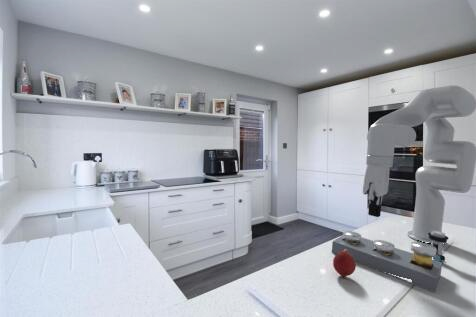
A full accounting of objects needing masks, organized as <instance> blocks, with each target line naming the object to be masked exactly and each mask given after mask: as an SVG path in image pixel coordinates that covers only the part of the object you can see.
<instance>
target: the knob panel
mask: <svg viewBox="0 0 476 317" xmlns="http://www.w3.org/2000/svg"><path fill="white" fill-rule="evenodd" d="M373 244H374V240H371V239H368V238H365V237H362V236H361V242H360V243H358V244H357V245H355V244H352V243H349V242H346V241H345V240H344V239H343V235H341V236H339V237H338V238H336V239H334V240H333V241H332V244H331V253H333V254H334V255H335V254H336V255H337V254H338V253H340V252H342V251H343V250H345V249H347V250H348V254H350V255H351V256H352V258H353V259H354V261H355V263H357V264H358V263H359V264H361V265H363V266H366V267H369V268H371V269H373V268H374V270H376V269H377V270H376V271H378V270H380V271H379V272H381V271H383V272H382V273H384V272H386V273H390V274H393V275H396V276H399V277H403V278H407V279H411V280H412V283H411V284H412V285H415V286H417V287H420V288H422V289H425V290H427V291H430V292H432V293H436V290H437V287H438V284H439V281H440V278H441V274H442V267H443V264H442V262H439V261H436V260H432V265H431V269H426V268H423V267H420V266H417V265H414V264H412V261H413V252H409V251H407V250H403V249H400V248H396V247H395V248H394V253H393V254H391V256H387V255H385V254H382V253H379V252H376V251H375V249H374V248H373ZM386 273H385V274H386Z"/></svg>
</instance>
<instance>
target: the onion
mask: <svg viewBox="0 0 476 317" xmlns="http://www.w3.org/2000/svg"><path fill="white" fill-rule="evenodd" d="M332 265H333V268H334V270H335V271H336V273H337V274H339V275H340V276H341V277H343V278H345V277H348V276H351V275H352V274H353V273H354V272H355V270H356V262H355V261H354V259H353V258H352V256H351V255H350V254H348V250H347V249H345V250H343V251H342V252H340V253H338V254H336V255H334V257H333V260H332Z"/></svg>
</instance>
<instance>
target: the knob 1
mask: <svg viewBox="0 0 476 317" xmlns="http://www.w3.org/2000/svg"><path fill="white" fill-rule="evenodd" d="M342 236H343V239H344V240H345V241H346V242H349V243H352V244H355V245H357V244H358V243H360V242H361V237H362V234H361V233H359V232H356V231H352V230H344V231H343V233H342Z"/></svg>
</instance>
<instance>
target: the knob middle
mask: <svg viewBox="0 0 476 317" xmlns="http://www.w3.org/2000/svg"><path fill="white" fill-rule="evenodd" d="M373 241H374V244H373V248H374V249H375V251H376V252H379V253H382V254H385V255H387V256H391V254H393V253H394V248H396V247H395V244H393V243H392V242H389V241H386V240H381V239H375V240H373Z"/></svg>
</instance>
